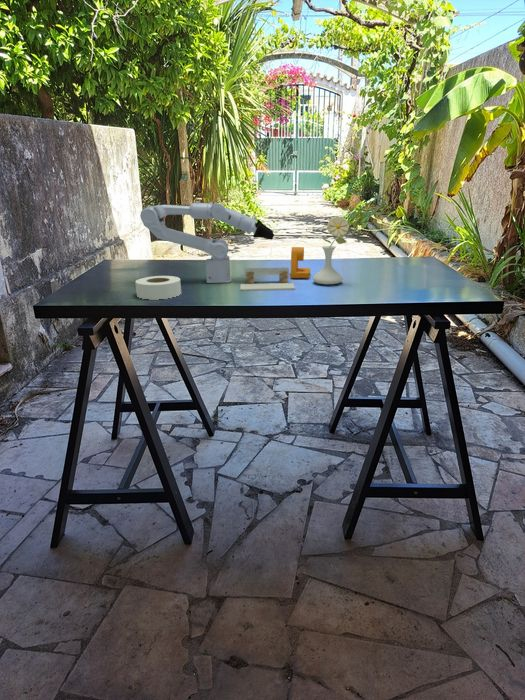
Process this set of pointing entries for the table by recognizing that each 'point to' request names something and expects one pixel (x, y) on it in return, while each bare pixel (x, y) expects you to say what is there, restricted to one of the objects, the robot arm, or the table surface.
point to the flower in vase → (337, 229)
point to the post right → (283, 277)
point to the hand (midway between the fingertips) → (272, 235)
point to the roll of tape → (158, 287)
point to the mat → (267, 286)
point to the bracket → (296, 256)
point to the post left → (249, 278)
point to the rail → (266, 271)
